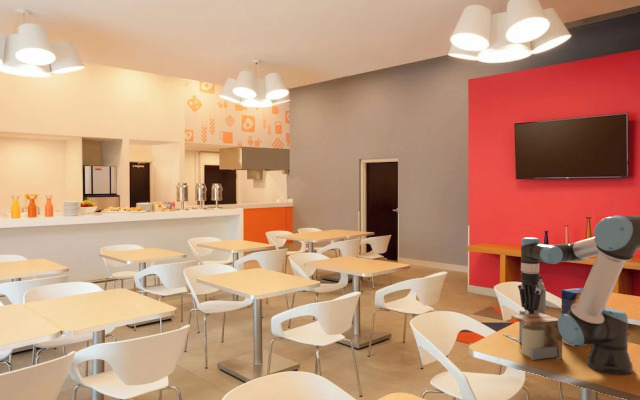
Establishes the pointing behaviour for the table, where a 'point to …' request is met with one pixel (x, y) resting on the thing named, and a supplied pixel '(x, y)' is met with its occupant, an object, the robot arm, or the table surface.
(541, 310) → the thermos bottle
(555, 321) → the brown angular piece
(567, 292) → the juice carton
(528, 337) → the can
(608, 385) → the table surface
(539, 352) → the slider
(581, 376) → the table surface
